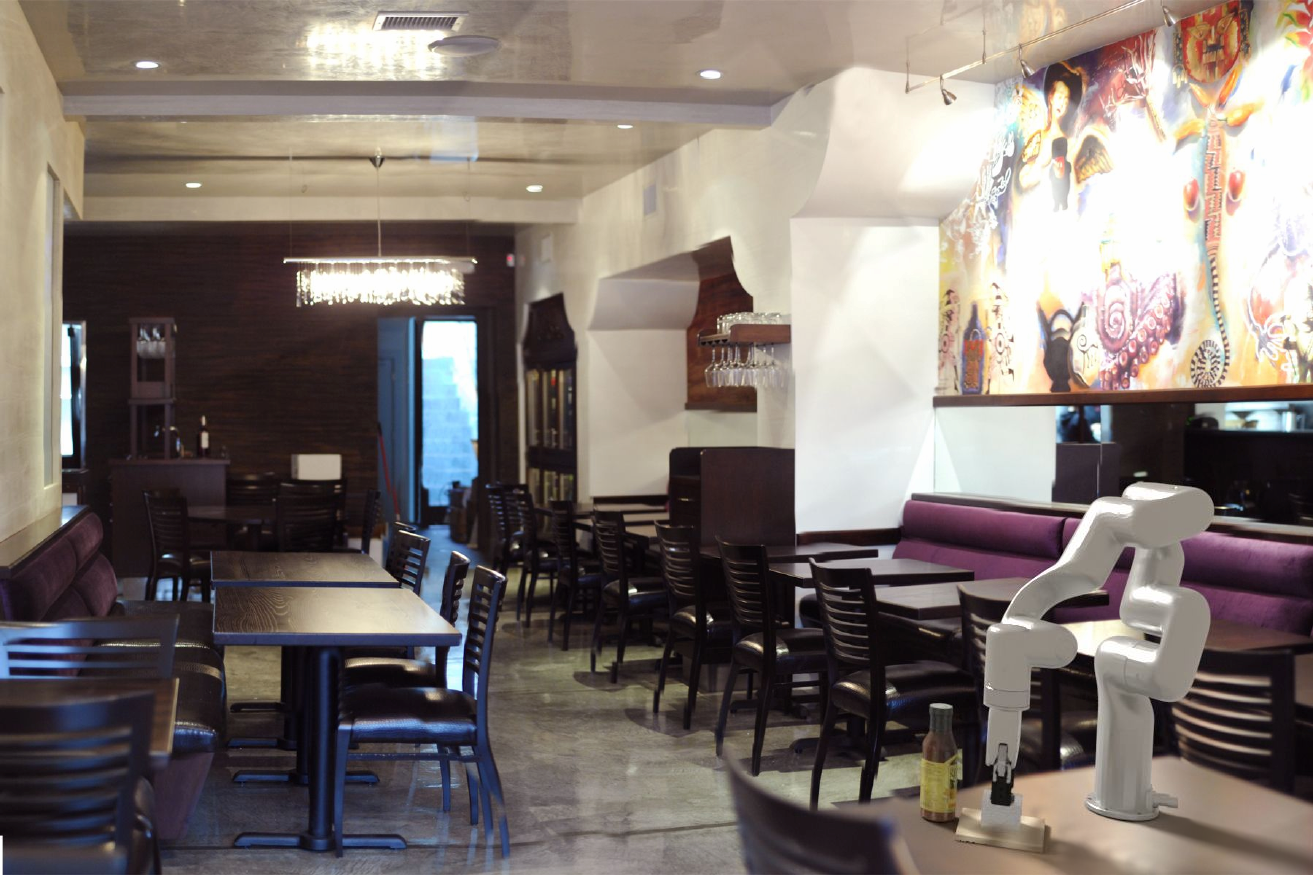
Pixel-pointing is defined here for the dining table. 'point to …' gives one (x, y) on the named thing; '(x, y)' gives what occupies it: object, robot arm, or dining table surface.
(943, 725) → the sauce bottle
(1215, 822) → the dining table surface
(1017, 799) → the collar
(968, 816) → the post block
